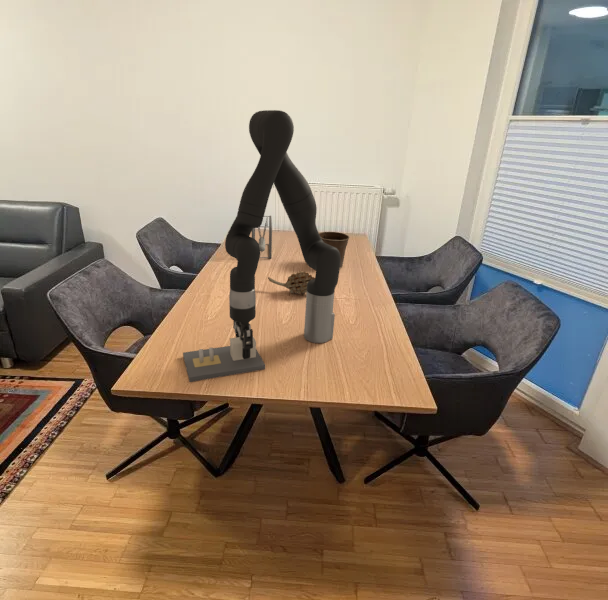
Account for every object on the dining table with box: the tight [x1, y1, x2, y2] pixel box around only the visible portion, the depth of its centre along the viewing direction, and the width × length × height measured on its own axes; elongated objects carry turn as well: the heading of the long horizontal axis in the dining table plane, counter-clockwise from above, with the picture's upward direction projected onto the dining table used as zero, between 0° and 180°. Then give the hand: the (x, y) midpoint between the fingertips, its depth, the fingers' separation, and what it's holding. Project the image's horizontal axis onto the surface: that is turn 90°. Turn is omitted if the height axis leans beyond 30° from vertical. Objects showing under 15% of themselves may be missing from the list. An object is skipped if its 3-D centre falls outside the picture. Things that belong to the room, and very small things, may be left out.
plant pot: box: [318, 231, 350, 269], centre depth 211 cm, size 16×16×16 cm
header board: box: [182, 345, 266, 383], centre depth 123 cm, size 22×14×6 cm, turn 112°
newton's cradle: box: [251, 215, 273, 260], centre depth 228 cm, size 30×10×18 cm, turn 5°
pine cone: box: [267, 270, 315, 295], centre depth 176 cm, size 22×10×10 cm, turn 84°
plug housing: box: [229, 336, 257, 361], centre depth 125 cm, size 7×4×6 cm, turn 112°
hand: (242, 350), depth 125 cm, fingers open, 8 cm apart
